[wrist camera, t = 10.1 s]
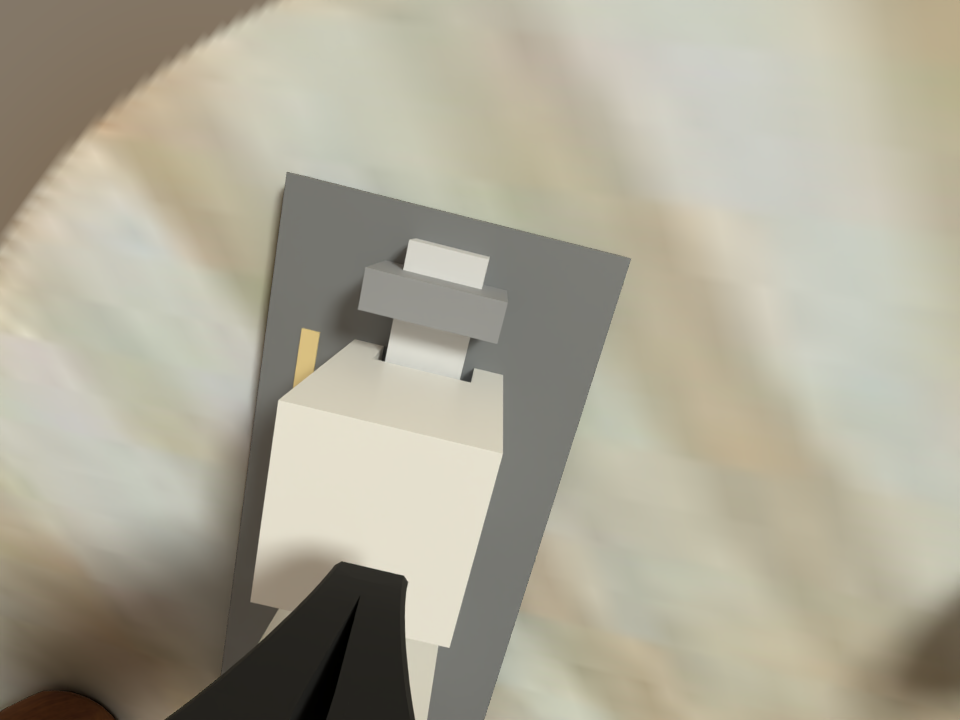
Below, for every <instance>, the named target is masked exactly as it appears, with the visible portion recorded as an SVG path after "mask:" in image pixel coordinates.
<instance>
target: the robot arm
mask: <svg viewBox="0 0 960 720" xmlns="http://www.w3.org/2000/svg"><path fill="white" fill-rule="evenodd" d="M407 586H408V581H407V579H406V578H405V576H403V575H399V574H395V573H390V572H386V571H382V570H378V569H373V568H369V567H365V566H360V565H356V564H352V563H347V562H343V561H341V562H339V563H338V564H336V565H334V567H333V568H332V569H331V570H330V572H329V573H328V574H327V575H326V576H325V577H324V579H323V580H322V581H321V582H320V583H319V584H318V585H317V586H316V587H315V589H314V590H313V591H312V592H311V593H310V594H309V595H308V596H307V597H306V598H305V599H304V600H303V601H302V602H301V603H300V604H299V605H298V606H297V607H296V608H295V609H294V610H293V611H292V612H291V613H290V614H289V615H288V616H287V617H286V618H285V619H284V620H283V621H282V622H281V623H280V624H279V625H278V626H277V627H275V628H274V629H273V630H272V631H271V632H270V633H269V634H268V635H267V636H266V637H265V638H264V639H263V640H262V641H261V642H260V643H258V644H257V645H256V646H255V647H254V648H253V649H252V650H250V651H249V652H248V653H247V654H246V655H245V656H243V657H242V658H241V659H240V660H239V661H238V662H236V663H235V664H234V665H233V666H232V667H231V668H229V669H228V670H227V671H226V672H225V673H224V674H222V675H221V676H220V677H219V678H218V679H217V680H215V681H214V682H213V683H212V684H210V685H209V686H208V687H207V688H205V689H204V690H203V691H202V692H200V693H199V694H198V695H197V696H195V697H194V698H193V699H192V700H190V701H189V702H188V703H186V704H185V705H184V706H183V707H181V708H180V709H178V710H177V711H176V712H174V713H173V714H172V715H170V716H169V717H168V718H166V719H165V720H415V716H414V709H413V703H412V697H411V689H410V682H409V672H408V662H407V652H406V637H405V601H406V591H407Z"/></svg>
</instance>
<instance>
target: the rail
mask: <svg viewBox="0 0 960 720" xmlns="http://www.w3.org/2000/svg"><path fill="white" fill-rule="evenodd" d="M630 260H631V259H630V258H627V257H623V256H619V255H616V254H612V253H608V252H604V251H600V250H596V249H592V248H588V247H584V246H580V245H576V244H572V243H568V242H564V241H560V240H556V239H552V238H548V237H544V236H540V235H536V234H532V233H528V232H524V231H520V230H516V229H512V228H509V227H505V226H501V225H497V224H493V223H489V222H485V221H481V220H477V219H473V218H469V217H465V216H461V215H457V214H453V213H449V212H445V211H441V210H437V209H433V208H429V207H425V206H421V205H417V204H413V203H409V202H405V201H401V200H398V199H394V198H390V197H386V196H382V195H378V194H374V193H370V192H366V191H362V190H358V189H354V188H350V187H346V186H342V185H338V184H334V183H330V182H326V181H322V180H318V179H314V178H310V177H306V176H302V175H298V174H294V173H289V172H287V174H286V182H285V189H284V197H283V205H282V212H281V220H280V227H279V235H278V243H277V250H276V258H275V266H274V273H273V281H272V289H271V296H270V304H269V311H268V319H267V327H266V334H265V342H264V350H263V357H262V365H261V373H260V380H259V388H258V395H257V403H256V411H255V418H254V426H253V434H252V441H251V449H250V457H249V464H248V472H247V479H246V487H245V495H244V502H243V510H242V518H241V525H240V533H239V541H238V548H237V556H236V563H235V571H234V579H233V586H232V594H231V602H230V609H229V617H228V625H227V632H226V640H225V647H224V655H223V663H222V670H221V675H222V674H224V673H225V672H226V671H227V670H228V669H229V668H231V667H232V666H233V665H234V664H235V663H236V662H238V661H239V660H240V659H241V658H242V657H243V656H245V655H246V654H247V653H248V652H249V651H250V650H252V649H253V648H254V647H255V646H256V645H257V644H258V643H260V642H261V641H262V640H263V639H264V638H265V637H266V636H267V635H268V634H269V633H270V632H271V631H272V630H273V629H274V628H275V627H277V626H278V625H279V624H280V623H281V622H282V621H283V620H284V619H285V618H286V617H287V616H288V615H289V614H290V613H291V612H292V611H287V610H283V609H279V608H274V607H270V606H266V605H261V604H257V603H253V602H250V600H251V593H252V586H253V579H254V571H255V564H256V557H257V550H258V543H259V536H260V528H261V521H262V514H263V507H264V500H265V492H266V485H267V478H268V471H269V464H270V457H271V449H272V442H273V435H274V428H275V421H276V413H277V406H278V400H279V399H280V398H281V397H283V396H284V395H285V394H287V393H288V392H289V391H290V390H292V389H293V388H294V387H295V386H297V385H298V384H299V383H300V382H302V381H303V380H304V379H305V378H307V377H308V376H309V375H310V374H312V373H313V372H314V371H315V370H317V369H318V368H319V367H320V366H322V365H323V364H324V363H326V362H327V361H328V360H329V359H331V358H332V357H333V356H334V355H336V354H337V353H338V352H339V351H341V350H342V349H343V348H344V347H346V346H347V345H348V344H349V343H351V342H352V341H353V340H354V339H356V340H360V341H364V342H369V343H373V344H377V345H381V346H384V349H383V354H382V360H381V361H384V362H388V363H392V364H396V365H400V366H404V367H409V368H413V369H417V370H421V371H425V372H429V373H433V374H437V375H442V376H446V377H450V378H454V379H458V380H462V381H466V382H471V379H472V375H473V371H474V368H476V369H480V370H484V371H488V372H492V373H496V374H501V375H503V455H502V459H501V463H500V466H499V470H498V474H497V477H496V481H495V484H494V488H493V492H492V495H491V499H490V503H489V506H488V510H487V513H486V517H485V521H484V524H483V528H482V532H481V535H480V539H479V542H478V546H477V550H476V553H475V557H474V561H473V564H472V568H471V571H470V575H469V579H468V582H467V586H466V590H465V593H464V597H463V600H462V604H461V608H460V611H459V615H458V619H457V622H456V626H455V629H454V633H453V637H452V640H451V644H450V648H447V647H443V646H439V645H434V644H430V643H426V642H421V641H417V640H413V639H408V638H406V652H407V662H408V672H409V682H410V689H411V697H412V703H413V709H414V716H415V720H484V719H485V715H486V712H487V709H488V706H489V703H490V700H491V697H492V693H493V690H494V687H495V684H496V681H497V678H498V675H499V672H500V668H501V665H502V662H503V659H504V656H505V653H506V650H507V646H508V643H509V640H510V637H511V634H512V631H513V628H514V624H515V621H516V618H517V615H518V612H519V609H520V606H521V602H522V599H523V596H524V593H525V590H526V587H527V584H528V581H529V577H530V574H531V571H532V568H533V565H534V562H535V559H536V555H537V552H538V549H539V546H540V543H541V540H542V537H543V533H544V530H545V527H546V524H547V521H548V518H549V515H550V511H551V508H552V505H553V502H554V499H555V496H556V493H557V490H558V486H559V483H560V480H561V477H562V474H563V471H564V468H565V464H566V461H567V458H568V455H569V452H570V449H571V446H572V442H573V439H574V436H575V433H576V430H577V427H578V424H579V421H580V417H581V414H582V411H583V408H584V405H585V402H586V399H587V395H588V392H589V389H590V386H591V383H592V380H593V377H594V373H595V370H596V367H597V364H598V361H599V358H600V355H601V351H602V348H603V345H604V342H605V339H606V336H607V333H608V330H609V326H610V323H611V320H612V317H613V314H614V311H615V308H616V304H617V301H618V298H619V295H620V292H621V289H622V286H623V282H624V279H625V276H626V273H627V270H628V267H629V264H630Z"/></svg>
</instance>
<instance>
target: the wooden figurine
mask: <svg viewBox="0 0 960 720" xmlns="http://www.w3.org/2000/svg"><path fill="white" fill-rule="evenodd" d="M0 720H115V719H114V718H113V716H112V715H111V714H110V713H109V712H108V711H106V710H105V709H104V708H103V707H102V706H101V705H99V704H98V703H96V702H94V701H92V700H91V699H89V698H87V697H85V696H82V695H79V694H76V693H73V692H68V691H57V690H55V691H42V692H40V693H37V694H35V695H32V696H30V697H28V698H26V699H23V700H21V701H19V702H17V703H15V704H13V705H11V706H9V707H7V708H5V709H4V710H2V711H1V712H0Z"/></svg>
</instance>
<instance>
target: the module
mask: <svg viewBox="0 0 960 720" xmlns="http://www.w3.org/2000/svg"><path fill="white" fill-rule="evenodd" d="M383 349H384V346H381V345H377V344H373V343H369V342H364V341H360V340H356V339H354V340H353V341H352V342H351V343H349V344H348V345H347V346H346V347H344V348H343V349H342V350H341V351H339V352H338V353H337V354H336V355H334V356H333V357H332V358H331V359H329V360H328V361H327V362H326V363H324V364H323V365H322V366H320V367H319V368H318V369H317V370H315V371H314V372H313V373H312V374H310V375H309V376H308V377H307V378H305V379H304V380H303V381H302V382H300V383H299V384H298V385H297V386H295V387H294V388H293V389H292V390H290V391H289V392H288V393H287V394H285V395H284V396H283V397H281V398H280V399H279V400H278V406H277V413H276V421H275V428H274V435H273V442H272V449H271V457H270V464H269V471H268V478H267V485H266V492H265V500H264V507H263V514H262V521H261V528H260V536H259V543H258V550H257V557H256V564H255V571H254V579H253V586H252V593H251V600H250V602H253V603H257V604H261V605H266V606H270V607H274V608H279V609H283V610H287V611H293V610H294V609H295V608H296V607H297V606H298V605H299V604H300V603H301V602H302V601H303V600H304V599H305V598H306V597H307V596H308V595H309V594H310V593H311V592H312V591H313V590H314V589H315V587H316V586H317V585H318V584H319V583H320V582H321V581H322V580H323V579H324V577H325V576H326V575H327V574H328V573H329V572H330V570H331V569H332V568H333V567H334V565H336V564H338V563H339V562H341V561H343V562H347V563H352V564H356V565H360V566H365V567H369V568H373V569H378V570H382V571H386V572H390V573H395V574H399V575H403V576H405V578H406V579H407V581H408V586H407V591H406V601H405V637H406V638H408V639H413V640H417V641H421V642H426V643H430V644H434V645H439V646H443V647H447V648H450V644H451V640H452V637H453V633H454V629H455V626H456V622H457V619H458V615H459V611H460V608H461V604H462V600H463V597H464V593H465V590H466V586H467V582H468V579H469V575H470V571H471V568H472V564H473V561H474V557H475V553H476V550H477V546H478V542H479V539H480V535H481V532H482V528H483V524H484V521H485V517H486V513H487V510H488V506H489V503H490V499H491V495H492V492H493V488H494V484H495V481H496V477H497V474H498V470H499V466H500V463H501V459H502V455H503V375H501V374H496V373H492V372H488V371H484V370H480V369H476V368H474V371H473V375H472V379H471V382H466V381H462V380H458V379H454V378H450V377H446V376H442V375H437V374H433V373H429V372H425V371H421V370H417V369H413V368H409V367H404V366H400V365H396V364H392V363H388V362H384V361H381V360H382V354H383Z"/></svg>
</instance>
